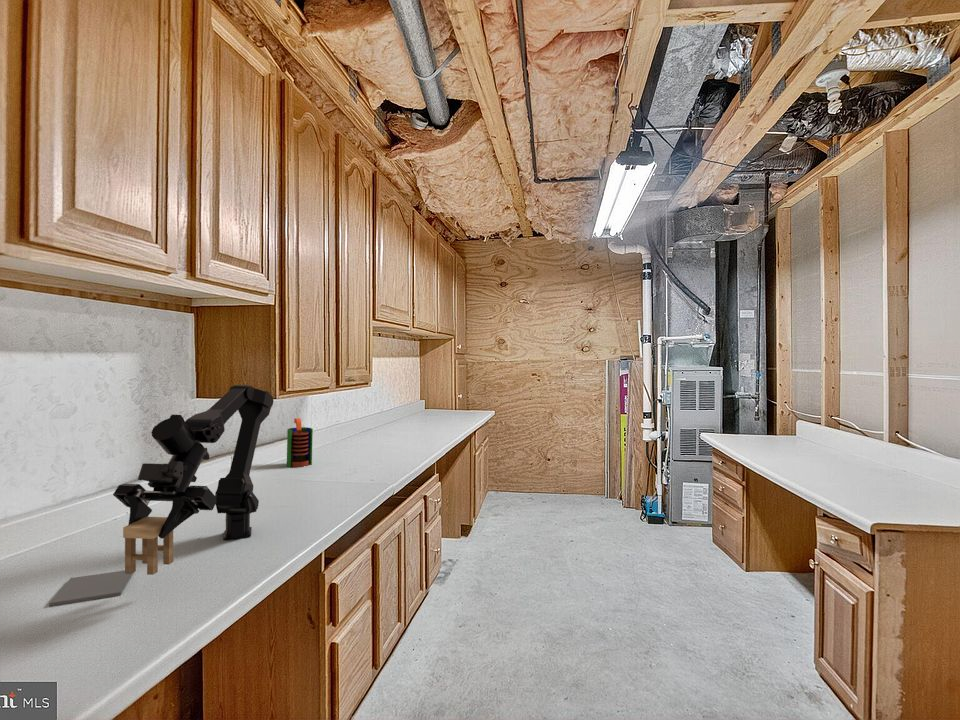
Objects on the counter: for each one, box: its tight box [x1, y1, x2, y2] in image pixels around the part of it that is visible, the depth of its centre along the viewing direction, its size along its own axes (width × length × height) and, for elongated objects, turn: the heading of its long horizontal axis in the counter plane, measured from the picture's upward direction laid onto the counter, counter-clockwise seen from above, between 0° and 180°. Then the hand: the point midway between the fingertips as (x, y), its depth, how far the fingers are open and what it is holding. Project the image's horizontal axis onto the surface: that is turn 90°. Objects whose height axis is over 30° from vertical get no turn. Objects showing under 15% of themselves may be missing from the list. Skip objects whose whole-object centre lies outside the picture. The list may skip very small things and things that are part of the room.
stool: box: [122, 516, 174, 576], centre depth 94 cm, size 6×6×9 cm
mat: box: [48, 569, 135, 607], centre depth 97 cm, size 11×11×1 cm
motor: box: [286, 417, 314, 468], centre depth 206 cm, size 10×9×20 cm
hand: (144, 537), depth 93 cm, fingers closed on stool, 6 cm apart
